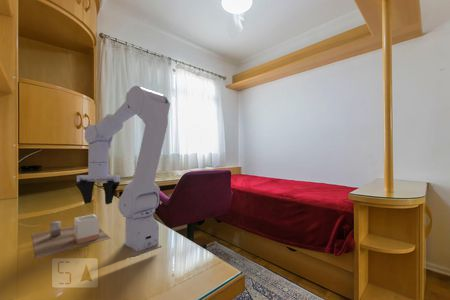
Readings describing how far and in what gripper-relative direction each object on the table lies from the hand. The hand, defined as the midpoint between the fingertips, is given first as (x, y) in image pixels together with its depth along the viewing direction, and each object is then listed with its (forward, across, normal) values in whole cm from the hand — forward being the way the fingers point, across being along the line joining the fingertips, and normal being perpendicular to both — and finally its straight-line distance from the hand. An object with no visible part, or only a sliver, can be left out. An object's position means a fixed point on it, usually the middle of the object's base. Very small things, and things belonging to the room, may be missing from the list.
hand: (98, 203), depth 66 cm
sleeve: (+8, -3, +8) cm, 11 cm away
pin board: (+10, +3, +7) cm, 12 cm away
